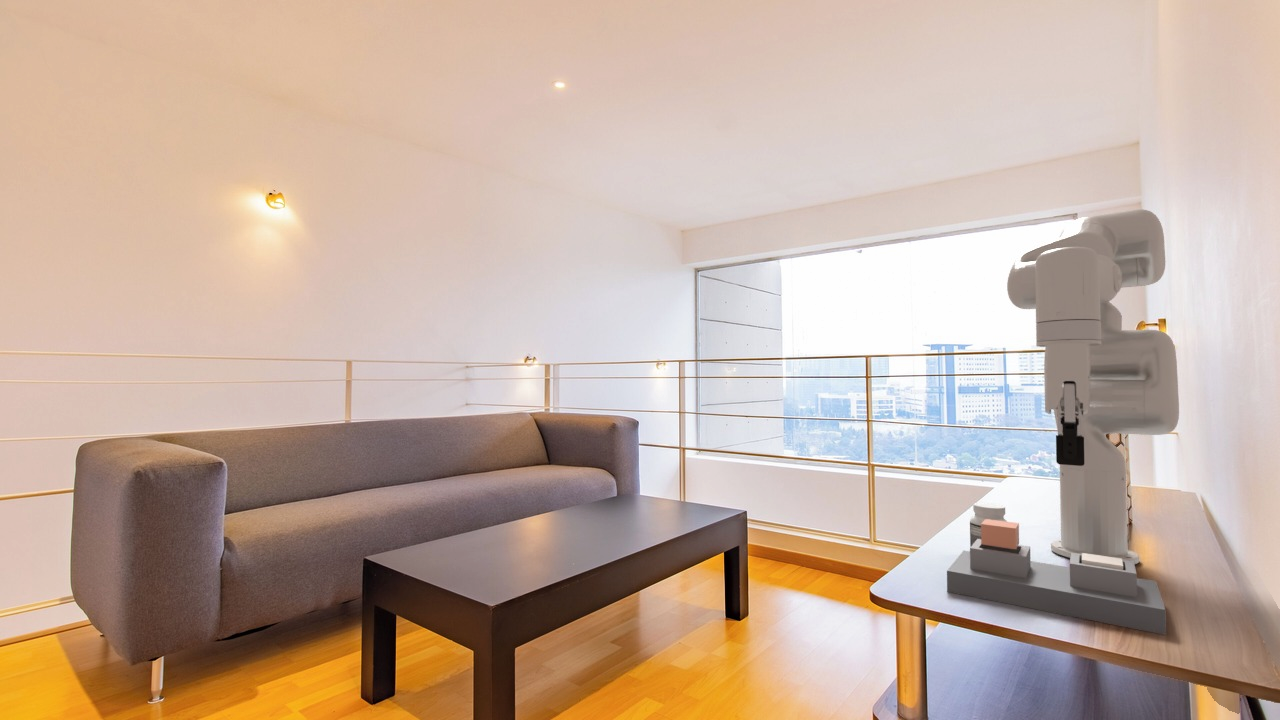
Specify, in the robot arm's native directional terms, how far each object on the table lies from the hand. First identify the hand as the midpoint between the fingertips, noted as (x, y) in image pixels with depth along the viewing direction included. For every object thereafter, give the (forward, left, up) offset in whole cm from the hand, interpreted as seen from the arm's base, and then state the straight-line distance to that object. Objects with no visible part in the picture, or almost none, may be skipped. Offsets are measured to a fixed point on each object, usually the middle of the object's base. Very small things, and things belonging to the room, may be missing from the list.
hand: (1070, 464), depth 84 cm
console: (0, -3, -19) cm, 19 cm away
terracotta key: (0, -9, -13) cm, 15 cm away
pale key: (0, +3, -16) cm, 16 cm away
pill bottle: (-13, -12, -19) cm, 26 cm away
